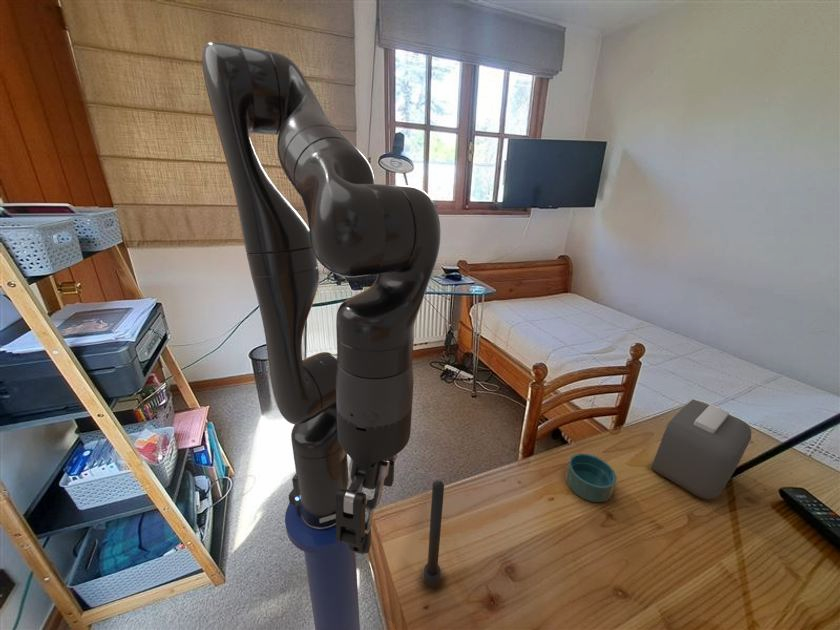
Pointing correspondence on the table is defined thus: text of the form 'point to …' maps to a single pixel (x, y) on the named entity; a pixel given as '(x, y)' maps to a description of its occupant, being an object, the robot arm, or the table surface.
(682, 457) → the alarm clock
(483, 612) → the table surface
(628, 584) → the table surface
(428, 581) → the long dark rod
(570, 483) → the bowl
